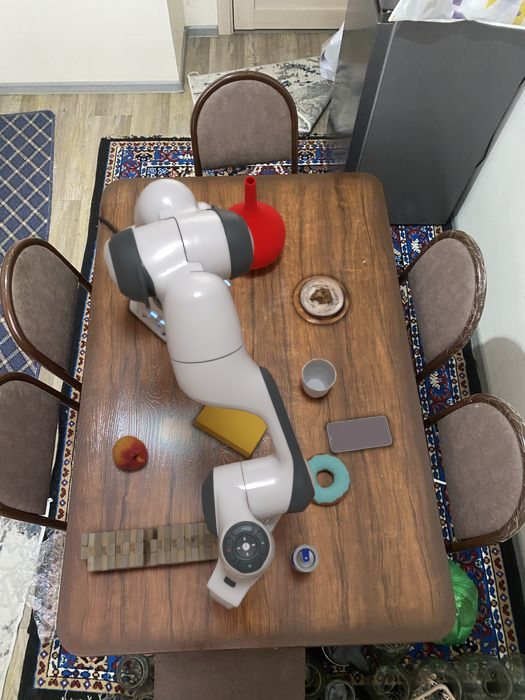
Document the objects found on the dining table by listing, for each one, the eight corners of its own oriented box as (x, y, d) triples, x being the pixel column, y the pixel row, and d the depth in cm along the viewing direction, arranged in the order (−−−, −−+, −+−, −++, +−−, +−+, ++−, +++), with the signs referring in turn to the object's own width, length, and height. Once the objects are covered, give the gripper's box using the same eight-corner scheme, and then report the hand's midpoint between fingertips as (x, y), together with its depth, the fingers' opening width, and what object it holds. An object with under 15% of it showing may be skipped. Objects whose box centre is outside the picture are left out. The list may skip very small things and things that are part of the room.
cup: (328, 406, 130) (333, 393, 121) (296, 399, 130) (299, 387, 121) (333, 376, 133) (338, 361, 124) (302, 370, 134) (305, 355, 124)
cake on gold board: (346, 276, 145) (348, 268, 141) (350, 324, 139) (352, 317, 135) (293, 276, 144) (294, 268, 141) (294, 324, 139) (295, 317, 135)
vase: (207, 261, 146) (195, 190, 119) (242, 216, 152) (238, 139, 125) (262, 291, 143) (263, 225, 115) (296, 244, 149) (304, 170, 121)
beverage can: (288, 548, 117) (291, 545, 103) (310, 546, 117) (317, 543, 103) (290, 573, 115) (294, 573, 101) (313, 570, 115) (320, 570, 101)
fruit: (123, 478, 123) (115, 472, 115) (111, 448, 125) (102, 441, 118) (154, 463, 124) (147, 456, 117) (141, 433, 127) (134, 425, 120)
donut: (288, 475, 123) (289, 472, 119) (326, 445, 126) (328, 441, 122) (320, 517, 119) (322, 515, 116) (359, 485, 122) (362, 482, 119)
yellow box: (193, 424, 128) (193, 423, 127) (224, 378, 133) (224, 378, 132) (248, 458, 125) (248, 457, 124) (278, 410, 129) (278, 409, 129)
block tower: (92, 572, 116) (223, 560, 116) (79, 572, 108) (219, 560, 108) (94, 534, 119) (221, 523, 119) (81, 532, 111) (217, 520, 111)
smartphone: (392, 444, 125) (332, 453, 124) (392, 445, 126) (331, 454, 125) (385, 415, 128) (326, 423, 127) (384, 416, 129) (325, 424, 128)
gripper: (264, 487, 93) (263, 497, 106) (200, 594, 87) (208, 591, 99) (294, 506, 92) (290, 514, 105) (232, 617, 85) (235, 611, 98)
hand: (249, 553), depth 102 cm, fingers open, 8 cm apart
